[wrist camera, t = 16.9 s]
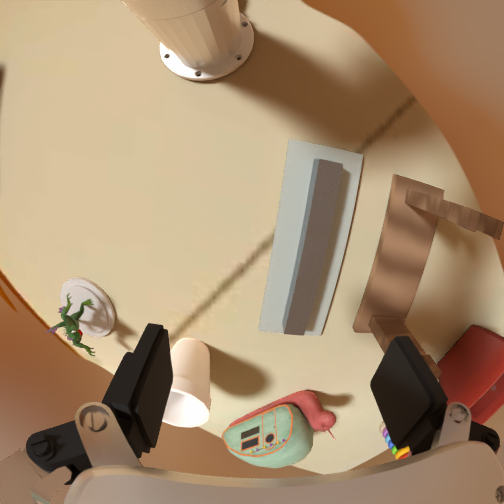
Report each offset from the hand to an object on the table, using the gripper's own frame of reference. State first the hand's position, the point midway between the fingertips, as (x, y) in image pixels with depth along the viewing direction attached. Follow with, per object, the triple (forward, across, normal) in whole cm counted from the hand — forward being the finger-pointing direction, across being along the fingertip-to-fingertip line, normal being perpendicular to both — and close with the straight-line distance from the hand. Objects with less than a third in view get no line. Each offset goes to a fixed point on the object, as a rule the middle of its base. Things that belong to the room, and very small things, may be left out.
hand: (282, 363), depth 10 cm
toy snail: (+26, -7, +40) cm, 48 cm away
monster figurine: (+27, +29, +20) cm, 44 cm away
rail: (+26, -7, +5) cm, 27 cm away
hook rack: (+27, -22, +5) cm, 35 cm away
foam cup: (+26, +9, +25) cm, 38 cm away
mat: (+27, -7, +5) cm, 28 cm away
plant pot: (+26, -51, +26) cm, 63 cm away
